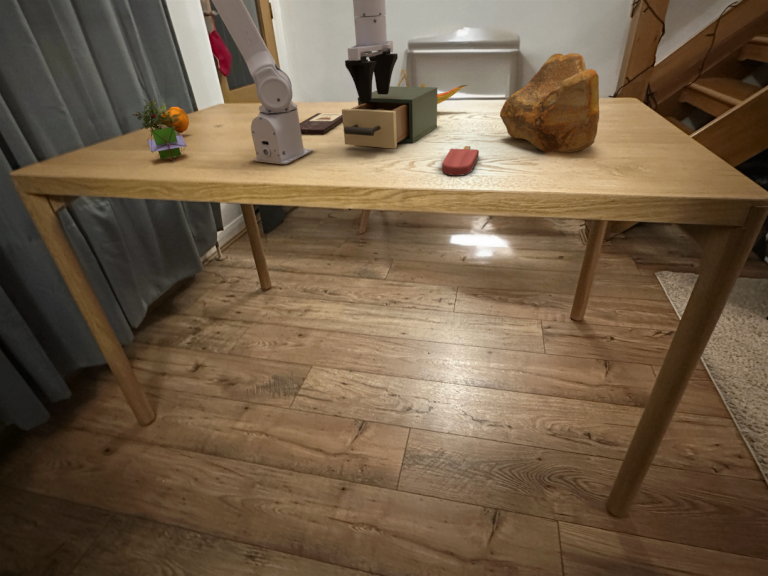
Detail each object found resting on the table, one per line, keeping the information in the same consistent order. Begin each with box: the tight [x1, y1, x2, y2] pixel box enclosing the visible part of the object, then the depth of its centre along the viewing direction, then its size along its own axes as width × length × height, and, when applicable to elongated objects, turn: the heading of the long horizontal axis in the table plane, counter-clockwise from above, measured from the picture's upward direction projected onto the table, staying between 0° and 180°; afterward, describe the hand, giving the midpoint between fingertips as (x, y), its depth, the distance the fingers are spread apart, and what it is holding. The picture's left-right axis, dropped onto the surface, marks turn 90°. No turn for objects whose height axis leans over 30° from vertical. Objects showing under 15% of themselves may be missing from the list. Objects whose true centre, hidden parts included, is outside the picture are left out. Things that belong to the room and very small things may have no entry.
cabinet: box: [357, 85, 438, 144], centre depth 96 cm, size 15×13×9 cm
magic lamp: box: [397, 69, 469, 105], centre depth 111 cm, size 7×18×11 cm, turn 82°
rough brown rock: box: [499, 52, 600, 154], centre depth 83 cm, size 23×17×15 cm
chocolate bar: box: [299, 112, 343, 135], centre depth 109 cm, size 9×1×18 cm
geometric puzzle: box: [146, 125, 187, 162], centre depth 88 cm, size 7×7×8 cm
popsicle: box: [441, 145, 480, 176], centre depth 78 cm, size 5×2×15 cm
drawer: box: [341, 102, 409, 149], centre depth 88 cm, size 18×11×7 cm, turn 154°
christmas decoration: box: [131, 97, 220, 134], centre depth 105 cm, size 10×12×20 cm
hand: (374, 97), depth 85 cm, fingers open, 7 cm apart
